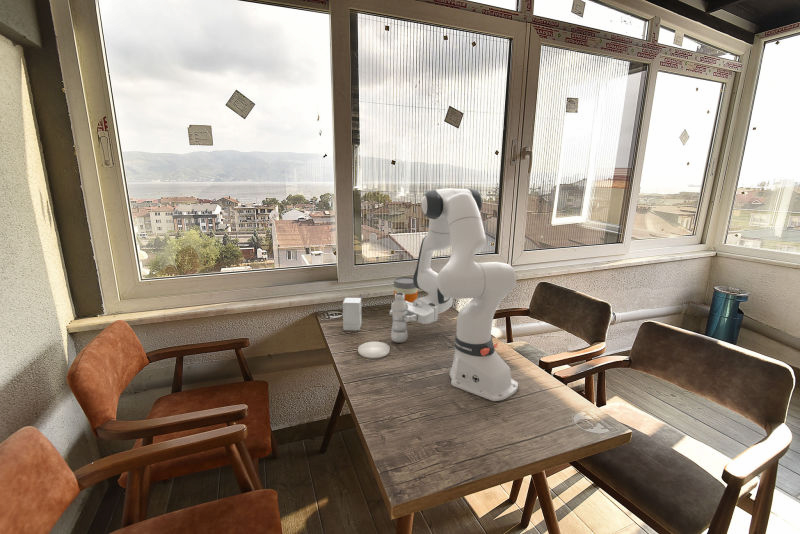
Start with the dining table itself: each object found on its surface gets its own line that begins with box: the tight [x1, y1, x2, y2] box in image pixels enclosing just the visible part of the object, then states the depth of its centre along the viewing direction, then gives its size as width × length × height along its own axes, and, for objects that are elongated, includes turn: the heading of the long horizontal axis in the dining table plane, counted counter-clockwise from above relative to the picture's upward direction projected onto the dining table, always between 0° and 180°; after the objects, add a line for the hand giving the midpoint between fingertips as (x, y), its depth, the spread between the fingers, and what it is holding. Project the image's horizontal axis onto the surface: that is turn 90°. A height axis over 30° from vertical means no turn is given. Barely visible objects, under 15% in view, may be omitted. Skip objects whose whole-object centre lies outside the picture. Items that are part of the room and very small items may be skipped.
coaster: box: [357, 341, 391, 359], centre depth 143 cm, size 12×12×1 cm
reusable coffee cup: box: [393, 276, 419, 303], centre depth 186 cm, size 13×13×15 cm
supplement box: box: [342, 297, 362, 331], centre depth 163 cm, size 7×7×13 cm
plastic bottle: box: [390, 293, 408, 344], centre depth 149 cm, size 6×7×20 cm
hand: (397, 316), depth 148 cm, fingers open, 7 cm apart
